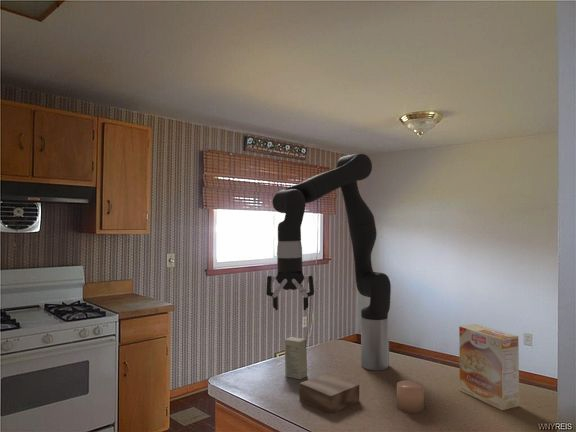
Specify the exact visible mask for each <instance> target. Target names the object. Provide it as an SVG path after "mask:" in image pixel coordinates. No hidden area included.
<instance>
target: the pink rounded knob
mask: <svg viewBox="0 0 576 432" xmlns="http://www.w3.org/2000/svg"><path fill="white" fill-rule="evenodd" d="M424 389H425V388H424V385H423V384H421V383H420V382H418V381H414V380H401V381H398V382H397V383H396V407H397V408H398V410H400V411H401V412H405V413H407V414H419V413H422V412H424V410H425V408H424V407H425V406H424V405H425V404H424V403H425V402H424V400H425V397H424V392H425V391H424Z"/></svg>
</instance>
